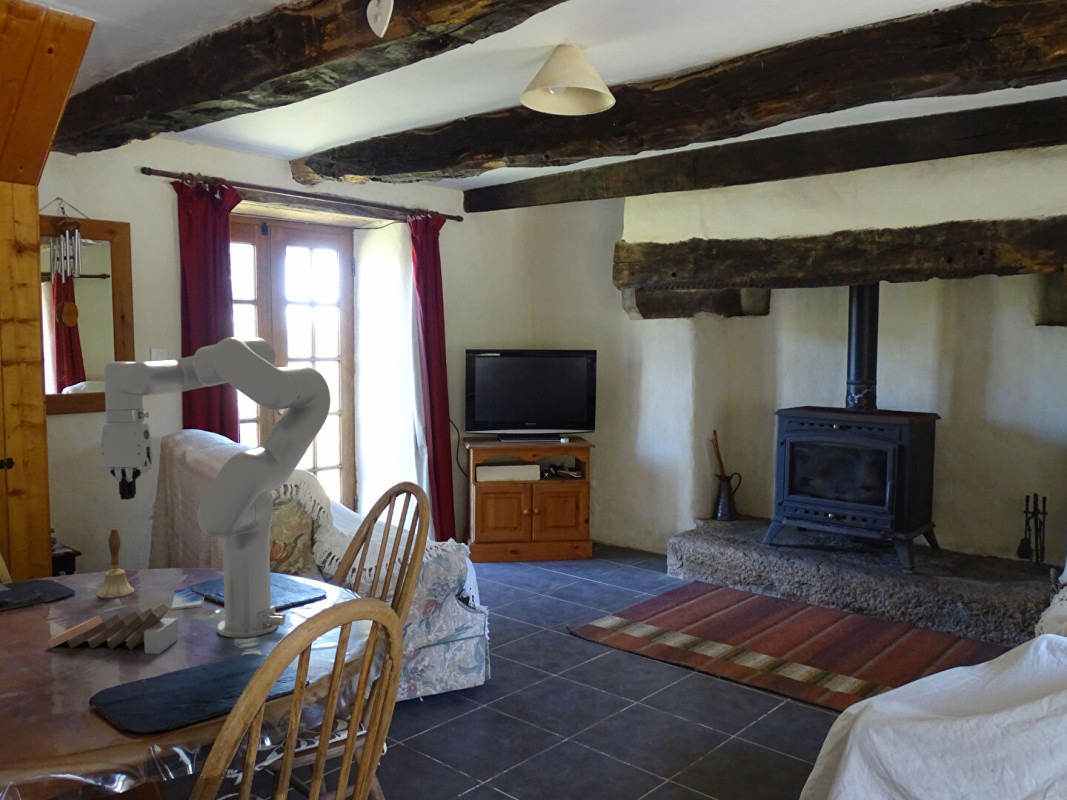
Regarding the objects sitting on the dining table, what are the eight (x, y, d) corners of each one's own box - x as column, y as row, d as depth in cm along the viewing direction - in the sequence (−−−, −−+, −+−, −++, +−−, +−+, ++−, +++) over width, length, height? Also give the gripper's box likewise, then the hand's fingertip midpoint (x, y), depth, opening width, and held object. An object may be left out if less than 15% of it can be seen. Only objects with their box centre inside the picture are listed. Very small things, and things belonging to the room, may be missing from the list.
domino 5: (144, 640, 177) (169, 608, 176) (131, 649, 172) (157, 616, 171) (138, 636, 177) (163, 603, 176) (125, 644, 172) (151, 611, 171)
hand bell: (100, 589, 213) (98, 526, 211) (136, 587, 215) (134, 524, 214) (94, 599, 205) (91, 534, 203) (131, 596, 207) (129, 532, 206)
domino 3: (105, 640, 178) (139, 617, 177) (92, 649, 173) (126, 625, 172) (101, 633, 178) (135, 611, 177) (87, 642, 173) (122, 619, 172)
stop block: (178, 639, 178) (177, 618, 178) (159, 653, 171) (158, 631, 170) (164, 639, 179) (163, 618, 178) (144, 653, 171) (144, 631, 170)
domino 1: (66, 639, 178) (102, 621, 178) (51, 648, 173) (88, 630, 173) (62, 632, 178) (99, 615, 178) (47, 641, 173) (85, 623, 173)
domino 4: (124, 640, 178) (155, 613, 177) (111, 649, 173) (143, 621, 172) (119, 634, 178) (150, 607, 177) (106, 643, 173) (138, 615, 172)
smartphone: (169, 608, 197) (174, 589, 211) (169, 612, 197) (174, 593, 211) (202, 604, 200) (205, 586, 214) (202, 608, 200) (205, 589, 214)
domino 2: (85, 639, 178) (121, 620, 177) (70, 648, 173) (107, 628, 172) (81, 633, 178) (117, 613, 177) (67, 641, 173) (103, 622, 172)
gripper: (165, 415, 193) (168, 495, 194) (101, 415, 194) (104, 495, 195) (149, 418, 185) (152, 502, 187) (82, 418, 186) (85, 501, 188)
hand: (127, 498), depth 191 cm, fingers closed
